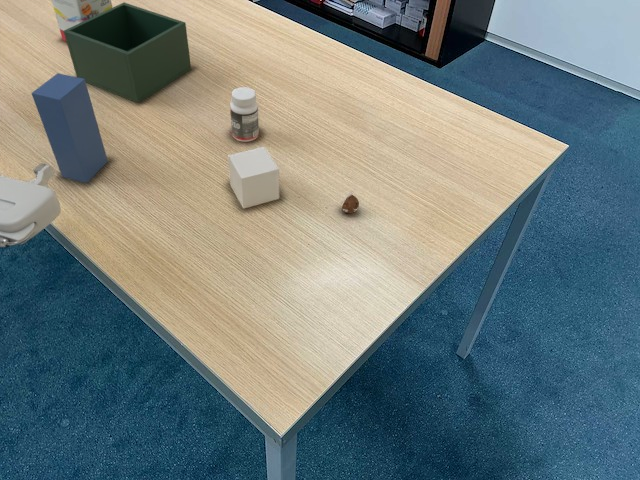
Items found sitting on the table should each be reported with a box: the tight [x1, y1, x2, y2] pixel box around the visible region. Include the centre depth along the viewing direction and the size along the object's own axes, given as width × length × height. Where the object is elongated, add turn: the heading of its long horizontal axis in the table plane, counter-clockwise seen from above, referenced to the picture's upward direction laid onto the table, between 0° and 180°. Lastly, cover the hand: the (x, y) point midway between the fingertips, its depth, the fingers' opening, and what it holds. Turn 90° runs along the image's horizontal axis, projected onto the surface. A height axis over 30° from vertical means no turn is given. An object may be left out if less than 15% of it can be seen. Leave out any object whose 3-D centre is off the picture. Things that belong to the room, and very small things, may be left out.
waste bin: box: [63, 2, 192, 104], centre depth 106 cm, size 16×16×10 cm
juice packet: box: [31, 72, 109, 184], centre depth 83 cm, size 4×6×15 cm
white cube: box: [227, 146, 280, 210], centre depth 84 cm, size 6×6×6 cm
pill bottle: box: [229, 86, 260, 143], centre depth 94 cm, size 5×5×8 cm
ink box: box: [51, 0, 113, 42], centre depth 114 cm, size 9×9×12 cm
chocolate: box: [340, 189, 360, 214], centre depth 83 cm, size 3×2×4 cm
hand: (18, 160), depth 73 cm, fingers open, 8 cm apart
